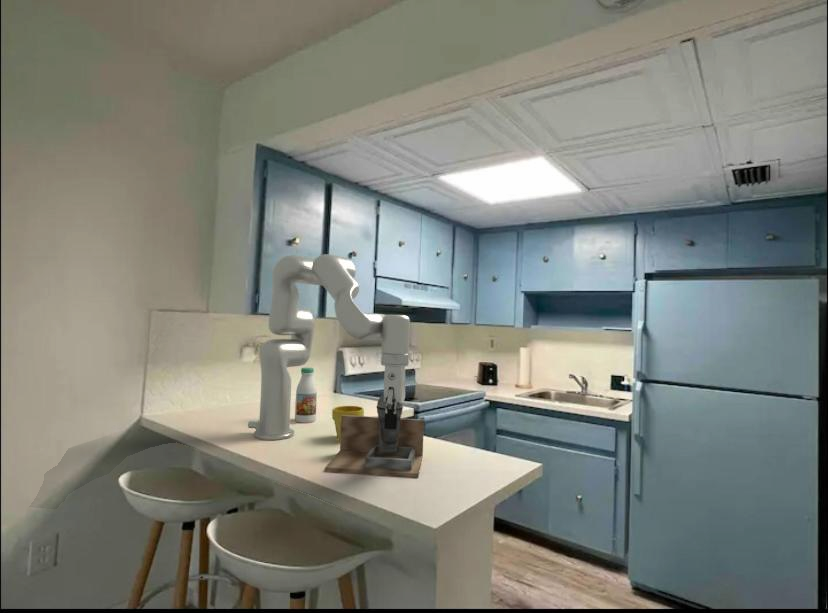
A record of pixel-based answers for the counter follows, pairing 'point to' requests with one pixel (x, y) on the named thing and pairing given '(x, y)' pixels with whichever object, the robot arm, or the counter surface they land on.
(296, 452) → the counter surface
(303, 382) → the milk bottle
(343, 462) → the cup bracket
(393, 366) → the robot arm
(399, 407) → the beverage cup
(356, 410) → the plant pot
